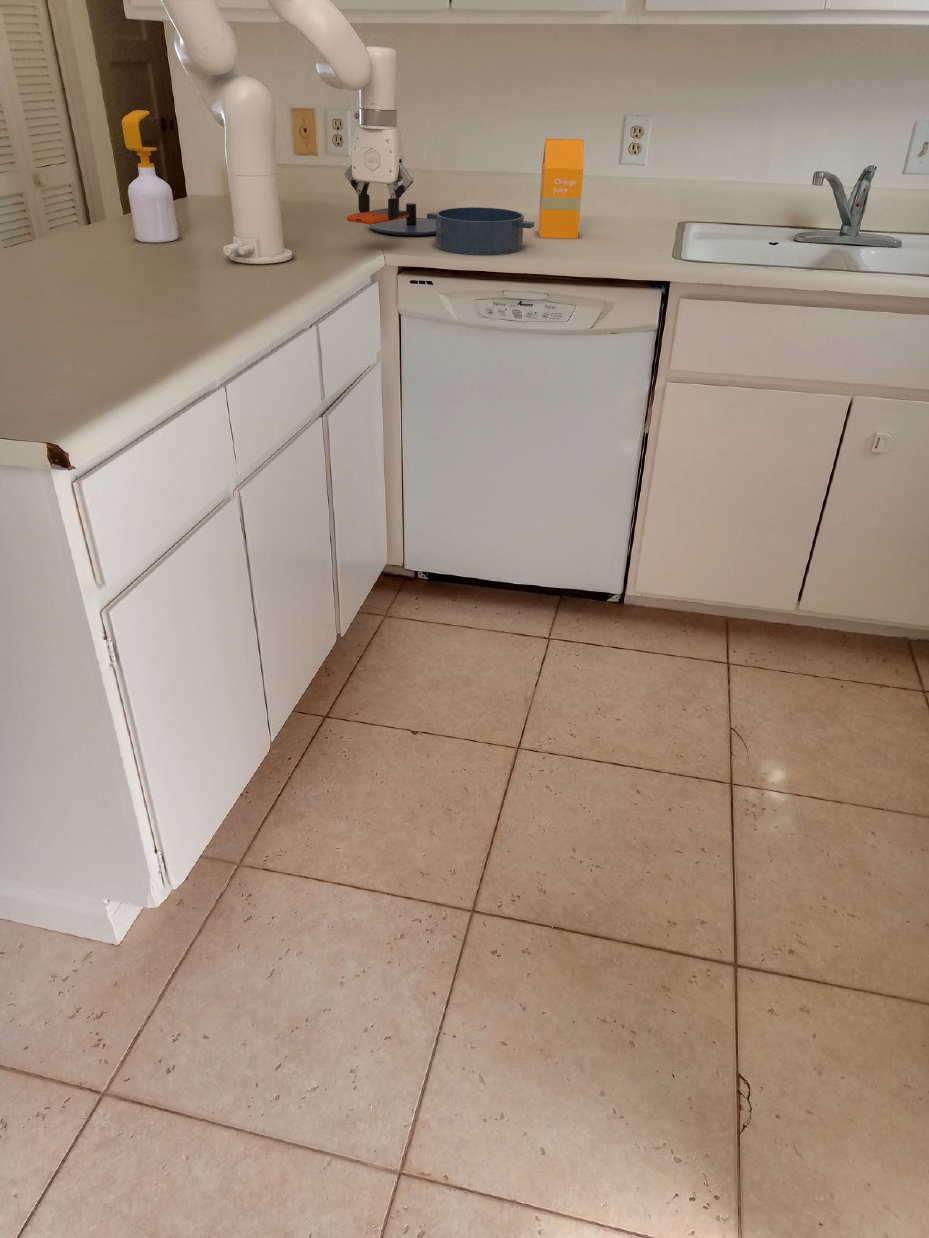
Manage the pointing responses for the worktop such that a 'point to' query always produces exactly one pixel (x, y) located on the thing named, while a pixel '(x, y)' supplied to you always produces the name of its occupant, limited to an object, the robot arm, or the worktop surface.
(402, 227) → the lid
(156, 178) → the soap bottle
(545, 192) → the orange juice
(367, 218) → the phone
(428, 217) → the pot
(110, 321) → the worktop surface
